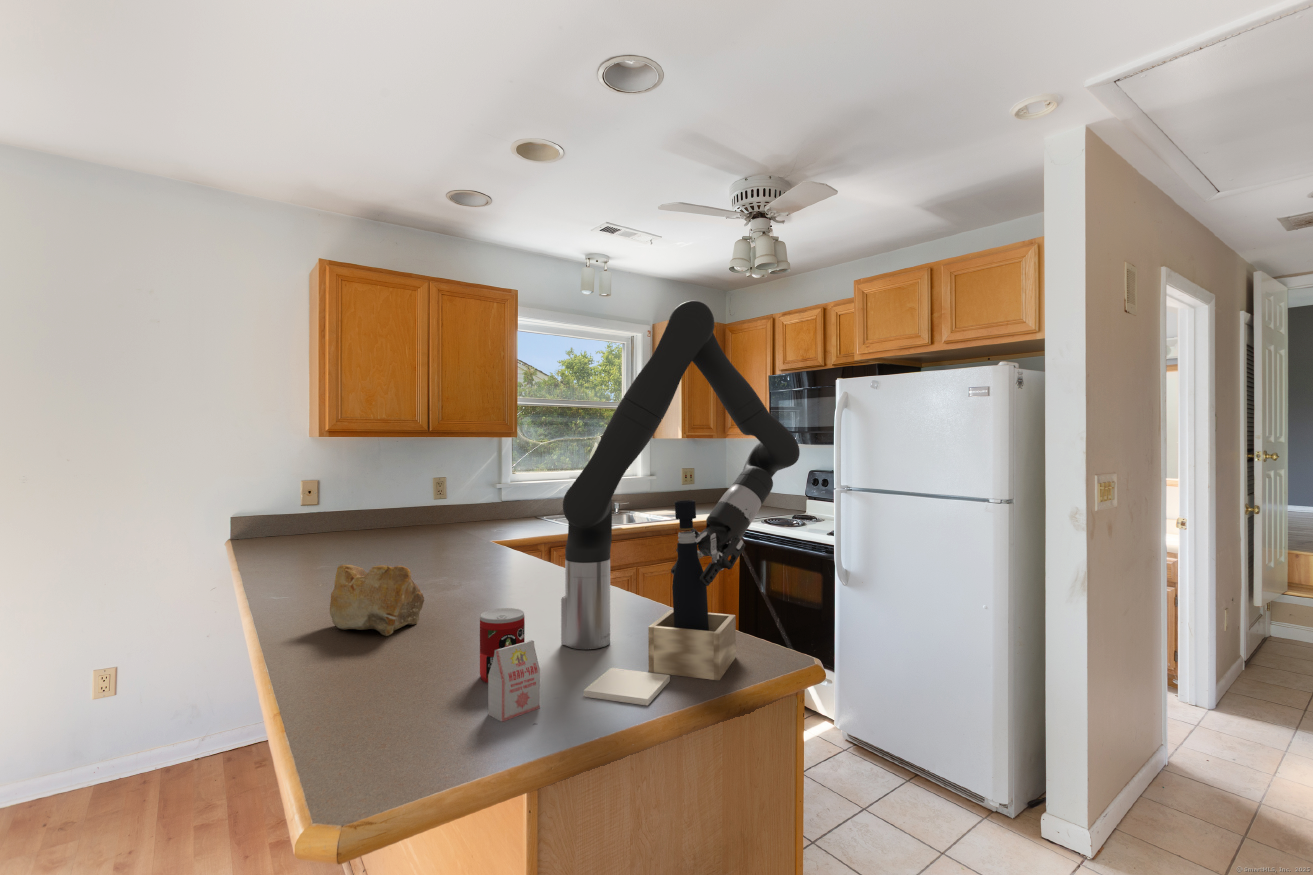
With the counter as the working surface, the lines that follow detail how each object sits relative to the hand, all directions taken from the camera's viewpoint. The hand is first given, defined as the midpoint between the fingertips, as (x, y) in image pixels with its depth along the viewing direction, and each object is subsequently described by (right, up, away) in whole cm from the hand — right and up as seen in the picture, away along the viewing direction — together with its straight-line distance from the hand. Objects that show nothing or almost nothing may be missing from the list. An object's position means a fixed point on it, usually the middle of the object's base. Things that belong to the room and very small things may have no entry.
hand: (688, 578), depth 116 cm
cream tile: (-11, -16, -11) cm, 22 cm away
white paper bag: (-28, -16, -20) cm, 38 cm away
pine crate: (+1, -16, 0) cm, 16 cm away
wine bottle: (+1, -16, 0) cm, 16 cm away
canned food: (-33, -16, -6) cm, 37 cm away
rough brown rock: (-67, -17, +25) cm, 73 cm away
